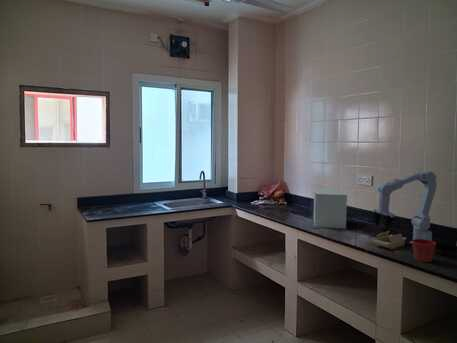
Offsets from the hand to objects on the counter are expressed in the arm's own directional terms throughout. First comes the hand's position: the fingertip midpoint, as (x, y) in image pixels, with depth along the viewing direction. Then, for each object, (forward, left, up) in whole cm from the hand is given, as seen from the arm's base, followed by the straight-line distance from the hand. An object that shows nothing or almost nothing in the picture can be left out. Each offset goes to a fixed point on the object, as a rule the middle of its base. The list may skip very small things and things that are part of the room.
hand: (382, 226), depth 204 cm
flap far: (0, -2, -5) cm, 6 cm away
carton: (-4, -2, -11) cm, 11 cm away
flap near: (-8, -2, -5) cm, 10 cm away
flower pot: (-28, +8, -11) cm, 31 cm away
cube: (+51, -15, -11) cm, 54 cm away
